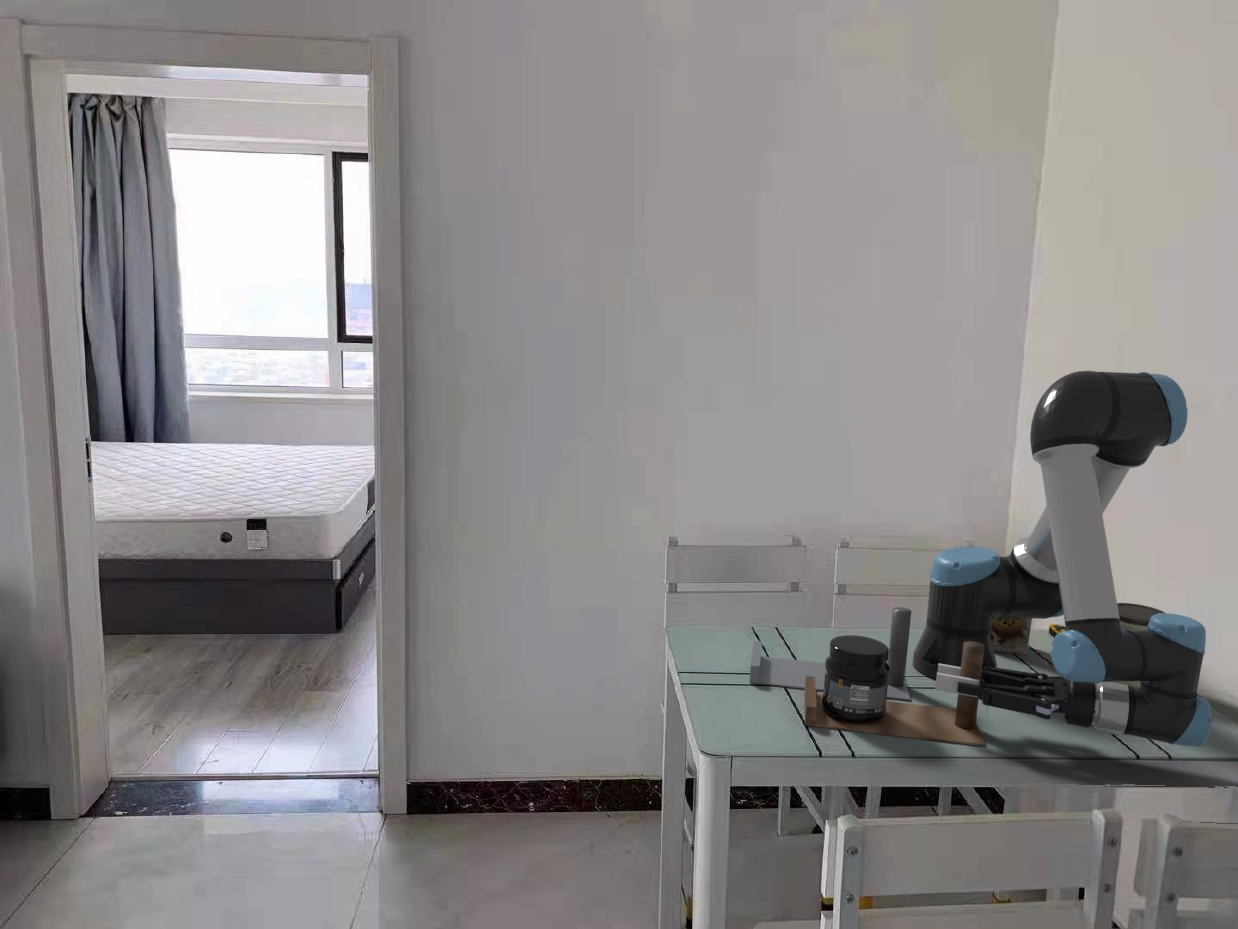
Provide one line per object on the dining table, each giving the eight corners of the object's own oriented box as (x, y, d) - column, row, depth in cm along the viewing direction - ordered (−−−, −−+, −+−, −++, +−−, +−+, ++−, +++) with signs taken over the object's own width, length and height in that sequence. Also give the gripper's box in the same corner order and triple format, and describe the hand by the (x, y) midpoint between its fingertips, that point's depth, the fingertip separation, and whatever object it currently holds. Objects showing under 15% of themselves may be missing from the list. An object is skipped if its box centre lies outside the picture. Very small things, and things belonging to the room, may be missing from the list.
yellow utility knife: (1067, 623, 206) (1096, 647, 191) (1066, 631, 206) (1095, 656, 191) (1044, 622, 206) (1071, 646, 191) (1043, 630, 206) (1070, 655, 192)
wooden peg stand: (970, 712, 161) (979, 632, 159) (985, 746, 149) (995, 660, 146) (804, 693, 166) (810, 616, 164) (805, 725, 154) (811, 641, 151)
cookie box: (980, 650, 191) (989, 573, 189) (976, 639, 198) (984, 565, 195) (1028, 655, 189) (1038, 578, 187) (1022, 644, 196) (1031, 569, 193)
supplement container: (854, 695, 165) (859, 630, 163) (899, 719, 157) (905, 650, 154) (808, 706, 160) (813, 639, 158) (852, 731, 151) (858, 660, 149)
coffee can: (1088, 670, 183) (1098, 600, 181) (1144, 674, 182) (1154, 604, 180) (1110, 691, 173) (1121, 618, 170) (1169, 696, 172) (1180, 622, 170)
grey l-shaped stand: (902, 672, 177) (909, 600, 175) (910, 700, 165) (918, 622, 162) (752, 656, 182) (757, 585, 180) (749, 683, 170) (754, 607, 167)
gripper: (1095, 749, 140) (931, 717, 149) (1085, 706, 156) (937, 679, 164) (1102, 702, 139) (936, 672, 147) (1092, 663, 154) (941, 638, 163)
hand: (937, 676), depth 156 cm, fingers open, 4 cm apart
